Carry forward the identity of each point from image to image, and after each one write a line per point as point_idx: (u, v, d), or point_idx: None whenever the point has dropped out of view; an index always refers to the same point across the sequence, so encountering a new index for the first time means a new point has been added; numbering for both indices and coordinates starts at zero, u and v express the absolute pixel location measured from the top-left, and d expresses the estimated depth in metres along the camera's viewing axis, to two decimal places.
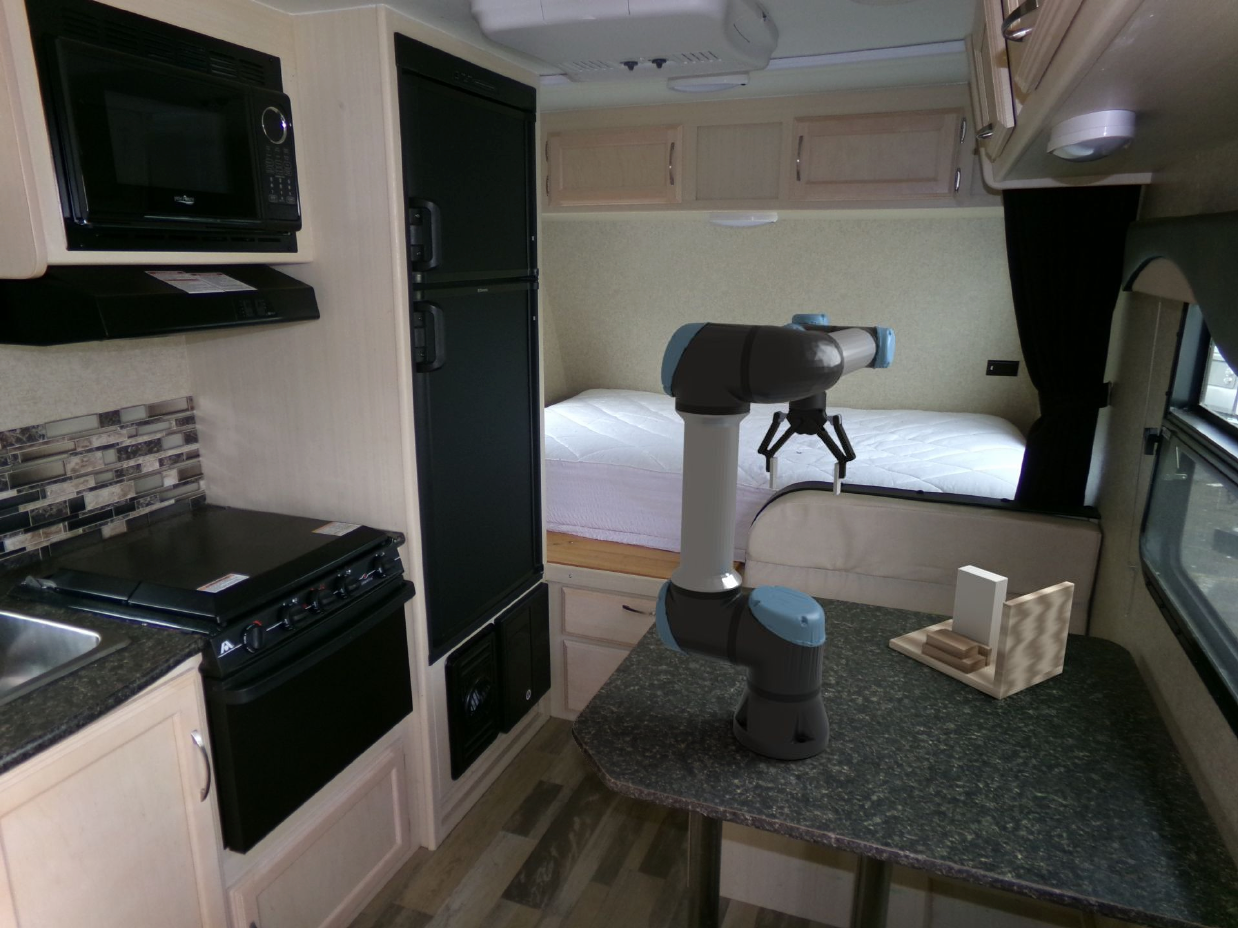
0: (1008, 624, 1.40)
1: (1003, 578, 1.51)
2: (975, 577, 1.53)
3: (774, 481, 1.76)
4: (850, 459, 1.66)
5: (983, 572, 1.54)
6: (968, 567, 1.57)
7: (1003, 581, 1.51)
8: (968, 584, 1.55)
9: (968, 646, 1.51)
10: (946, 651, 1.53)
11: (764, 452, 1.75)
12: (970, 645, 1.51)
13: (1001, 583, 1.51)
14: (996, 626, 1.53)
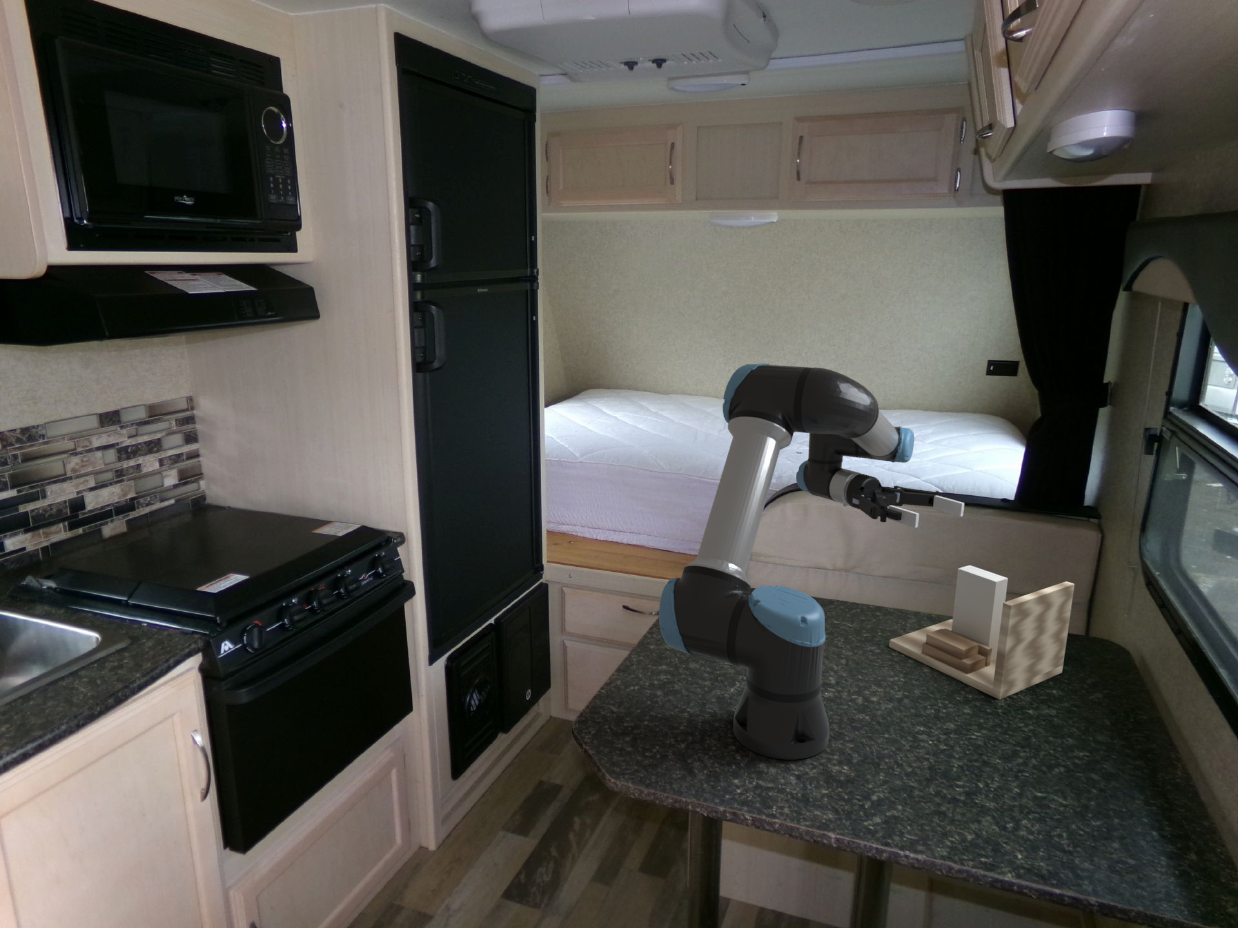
0: (1008, 624, 1.40)
1: (1003, 578, 1.51)
2: (975, 577, 1.53)
3: None
4: (939, 493, 1.71)
5: (983, 572, 1.54)
6: (968, 567, 1.57)
7: (1003, 581, 1.51)
8: (968, 584, 1.55)
9: (968, 646, 1.51)
10: (946, 651, 1.53)
11: (879, 508, 1.62)
12: (970, 645, 1.51)
13: (1001, 583, 1.51)
14: (996, 626, 1.53)
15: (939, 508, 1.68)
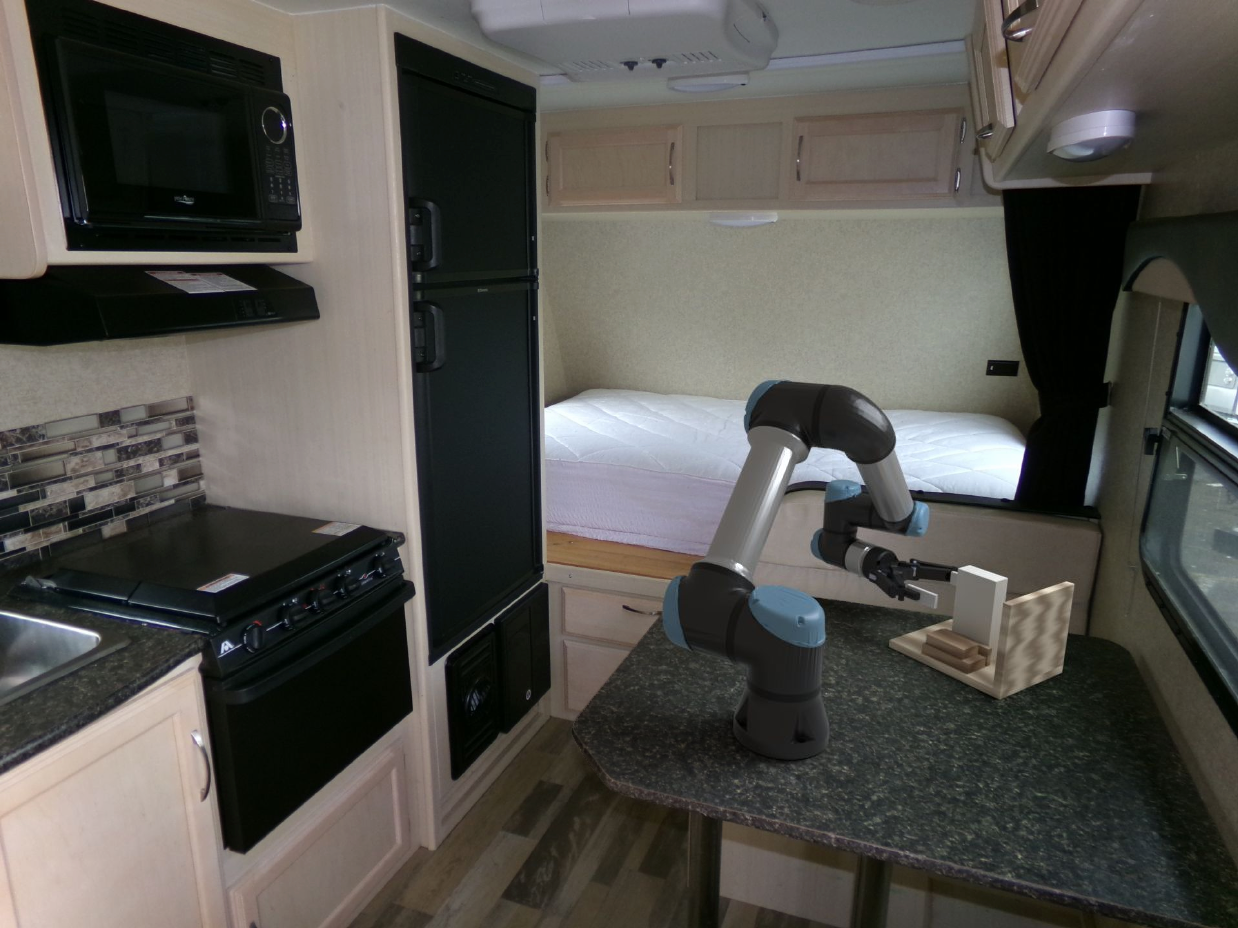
0: (1008, 624, 1.40)
1: (1003, 578, 1.51)
2: (975, 577, 1.53)
3: None
4: (956, 567, 1.71)
5: (983, 572, 1.54)
6: (968, 567, 1.57)
7: (1003, 581, 1.51)
8: (968, 584, 1.55)
9: (968, 646, 1.51)
10: (946, 651, 1.53)
11: (897, 587, 1.61)
12: (970, 645, 1.51)
13: (1001, 583, 1.51)
14: (996, 626, 1.53)
15: None
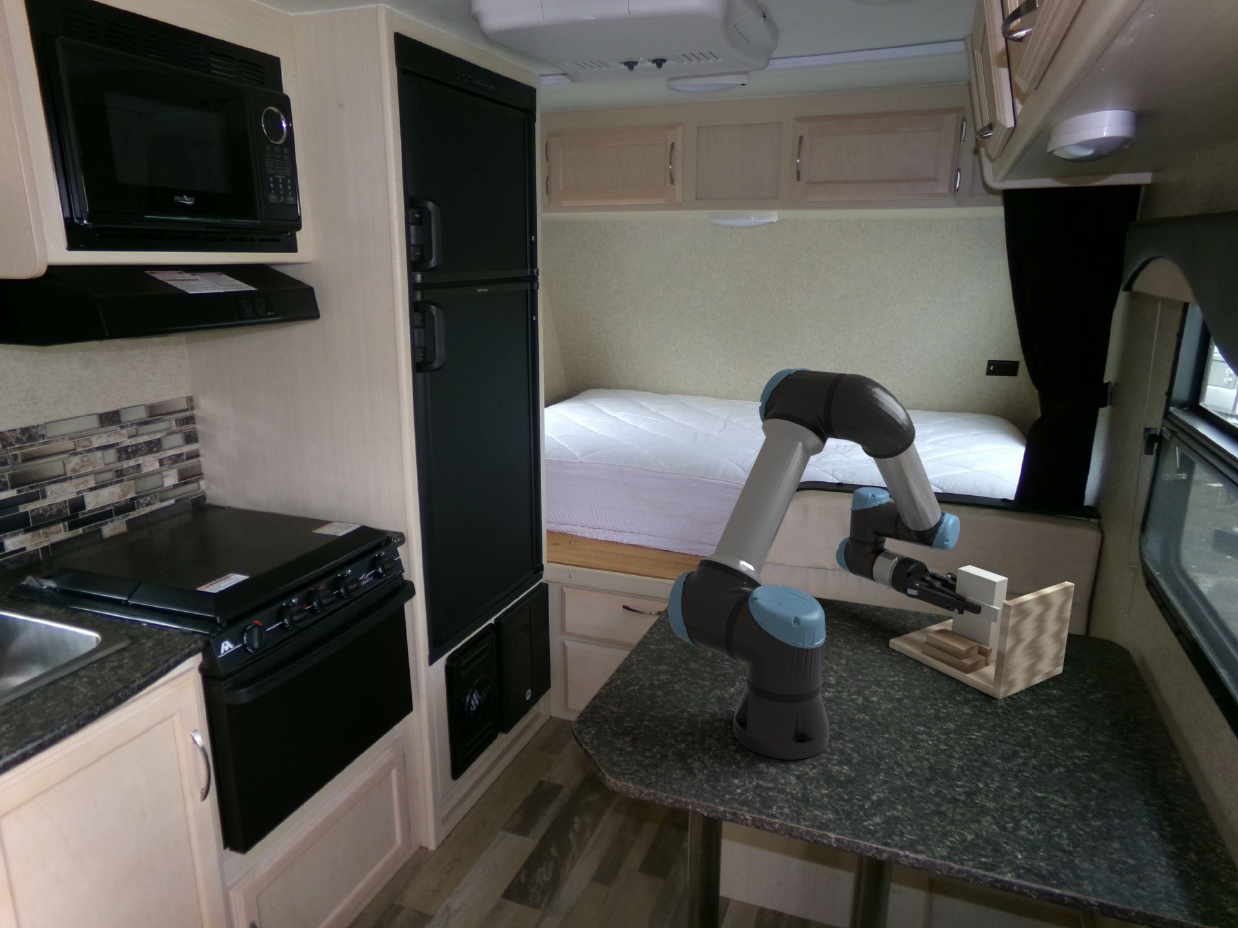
0: (1008, 624, 1.40)
1: (1003, 578, 1.51)
2: (975, 577, 1.53)
3: None
4: None
5: (983, 572, 1.54)
6: (968, 567, 1.57)
7: (1003, 581, 1.51)
8: (968, 584, 1.55)
9: (968, 646, 1.51)
10: (946, 651, 1.53)
11: (958, 601, 1.54)
12: (970, 645, 1.51)
13: (1001, 582, 1.51)
14: (996, 626, 1.53)
15: None
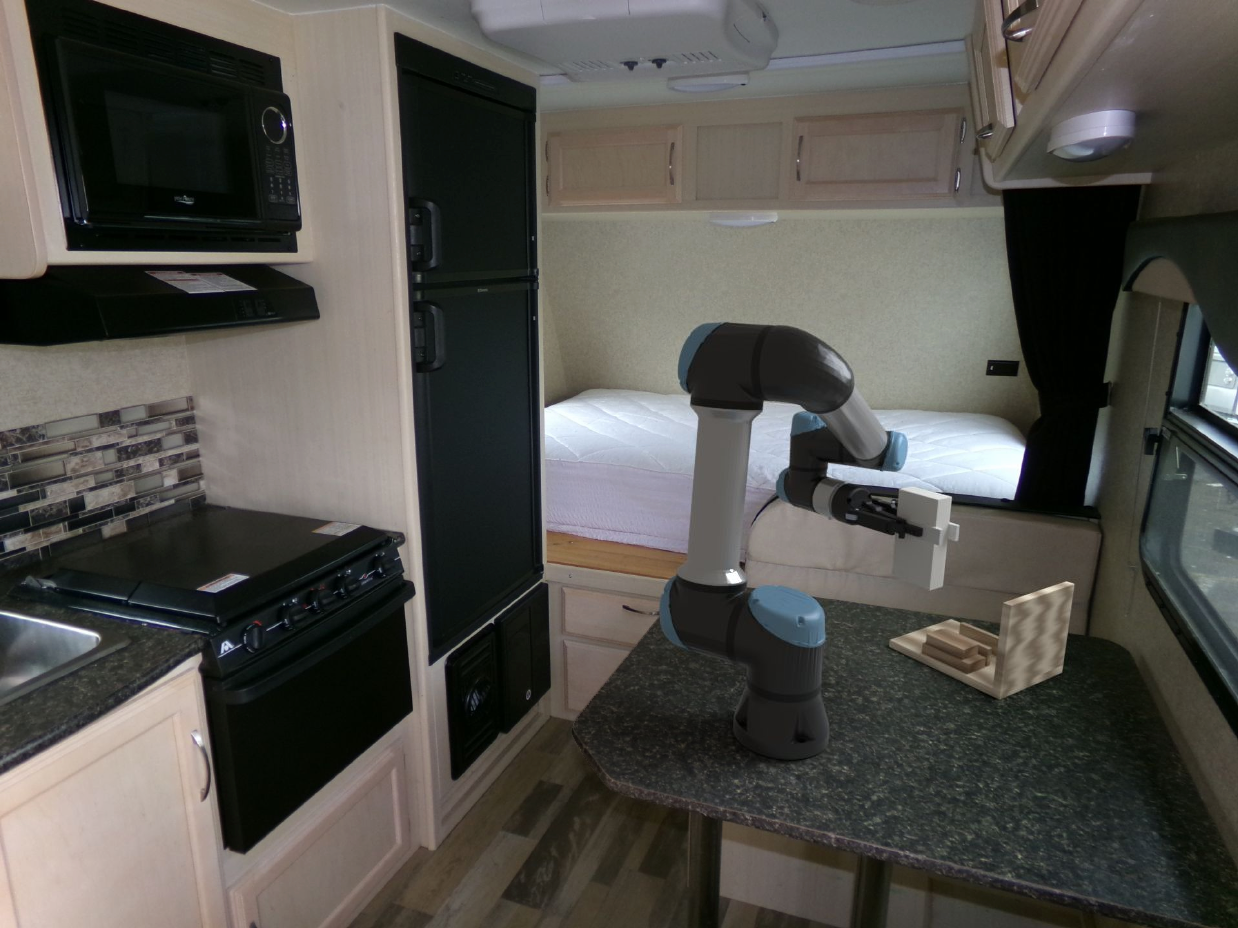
0: (1008, 624, 1.40)
1: (946, 497, 1.38)
2: (916, 497, 1.40)
3: None
4: None
5: (926, 492, 1.40)
6: (910, 488, 1.43)
7: (946, 500, 1.37)
8: (909, 505, 1.41)
9: (968, 646, 1.51)
10: (946, 651, 1.53)
11: (899, 523, 1.41)
12: (970, 645, 1.51)
13: (944, 501, 1.37)
14: (939, 550, 1.39)
15: None
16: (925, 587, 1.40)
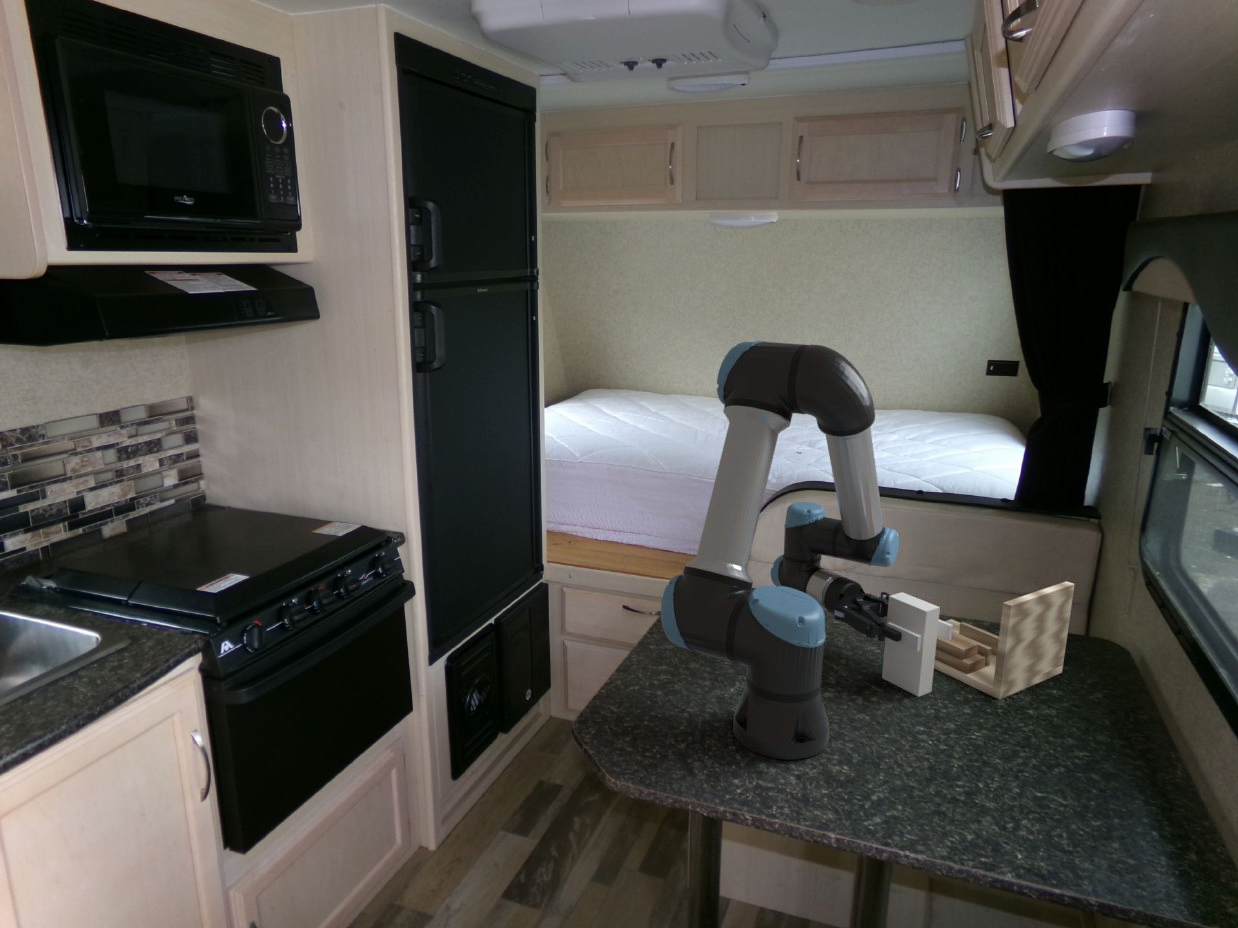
0: (1008, 624, 1.40)
1: (935, 607, 1.42)
2: (905, 606, 1.44)
3: None
4: None
5: (915, 600, 1.45)
6: (900, 594, 1.47)
7: (934, 610, 1.41)
8: (899, 613, 1.45)
9: (968, 646, 1.51)
10: (946, 651, 1.53)
11: (877, 626, 1.44)
12: (970, 645, 1.51)
13: (932, 612, 1.41)
14: (928, 658, 1.43)
15: None
16: (914, 693, 1.45)
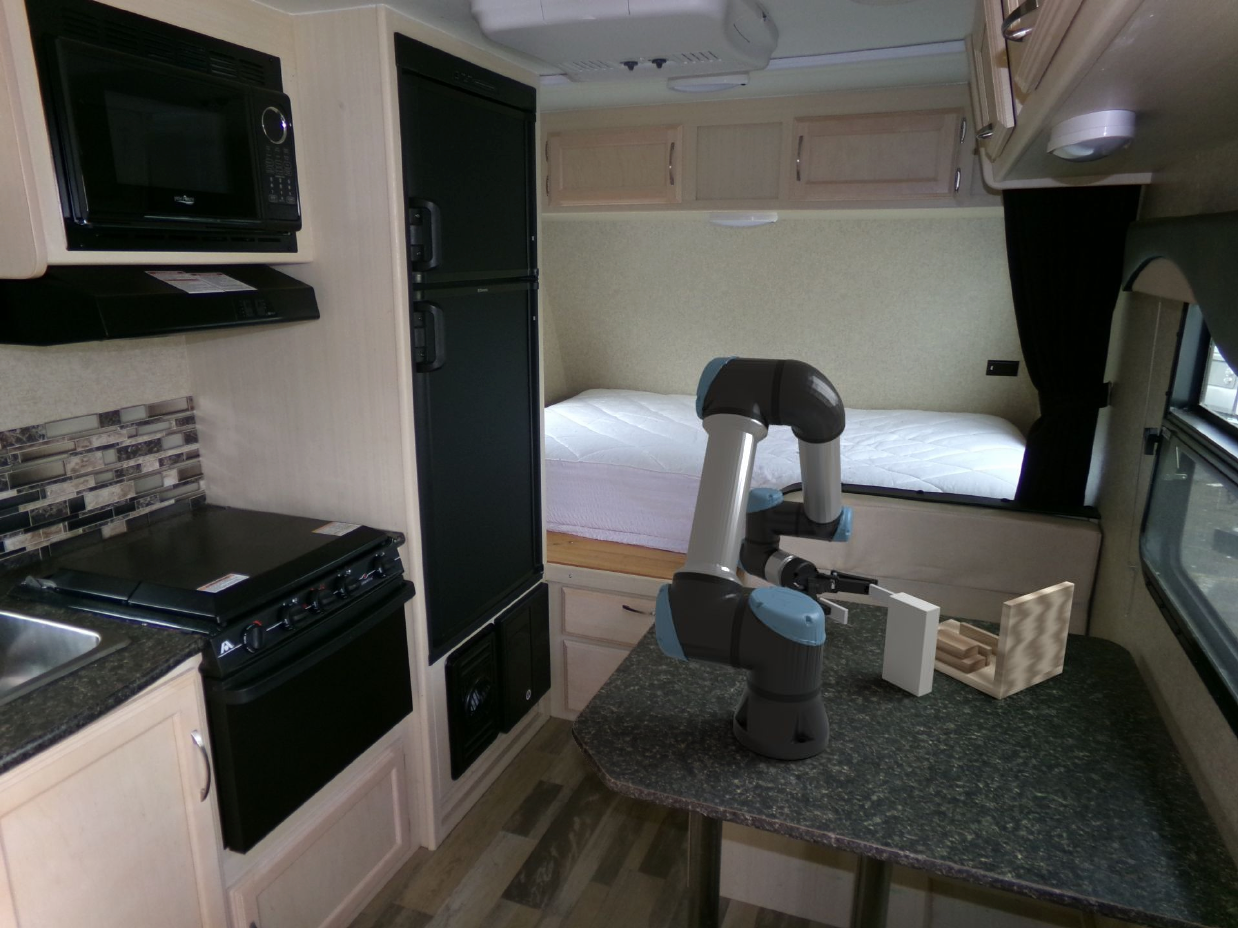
0: (1008, 624, 1.40)
1: (935, 607, 1.42)
2: (906, 606, 1.44)
3: None
4: (876, 580, 1.64)
5: (915, 600, 1.45)
6: (900, 594, 1.47)
7: (935, 610, 1.41)
8: (899, 613, 1.45)
9: (968, 646, 1.51)
10: (946, 651, 1.53)
11: None
12: (970, 645, 1.51)
13: (932, 612, 1.41)
14: (928, 658, 1.43)
15: (874, 598, 1.61)
16: (914, 693, 1.45)
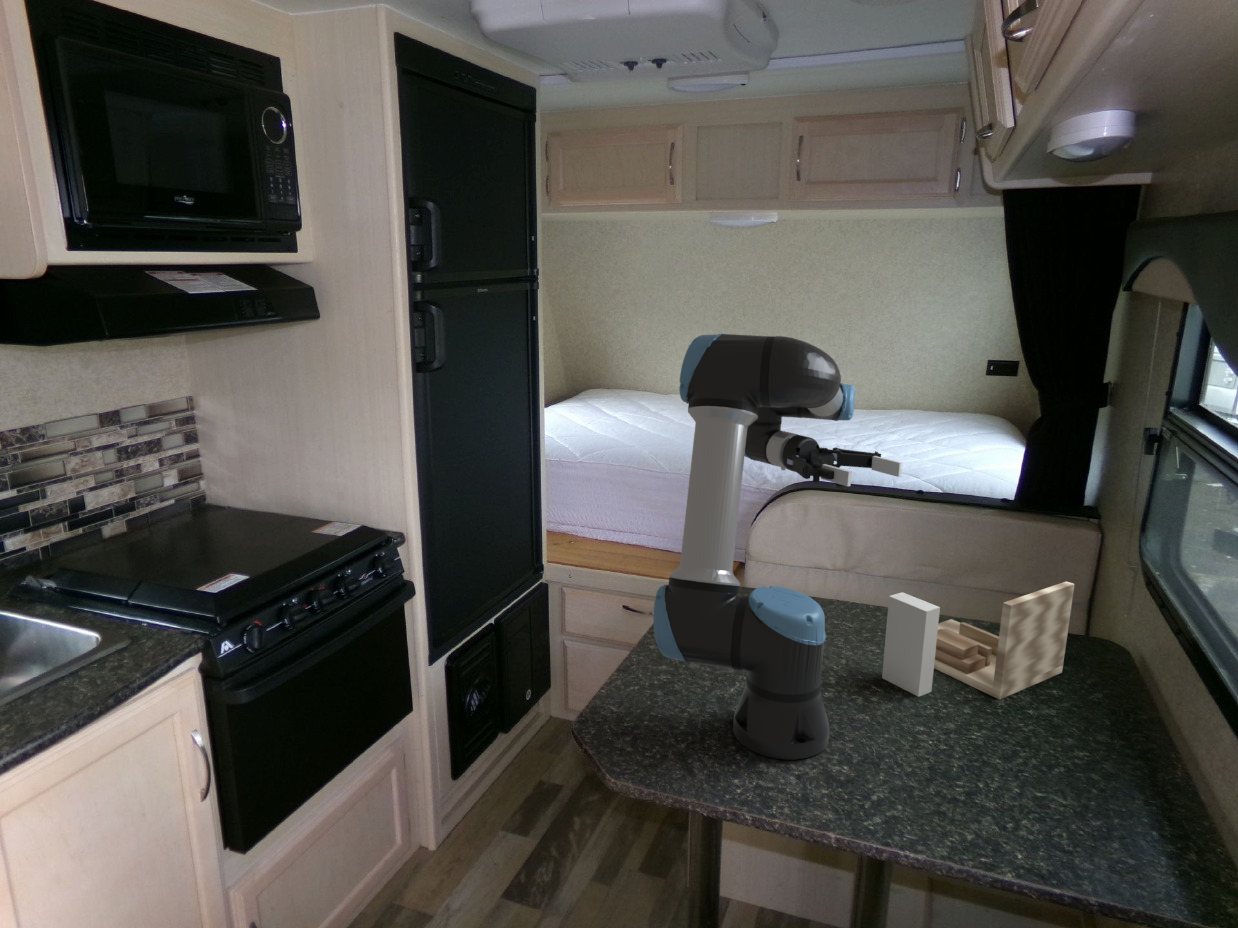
0: (1008, 624, 1.40)
1: (935, 607, 1.42)
2: (906, 606, 1.44)
3: None
4: (879, 454, 1.62)
5: (915, 600, 1.45)
6: (900, 594, 1.47)
7: (934, 610, 1.41)
8: (899, 613, 1.45)
9: (968, 646, 1.51)
10: (946, 651, 1.53)
11: (811, 467, 1.53)
12: (970, 645, 1.51)
13: (932, 612, 1.41)
14: (928, 658, 1.43)
15: (877, 469, 1.59)
16: (914, 693, 1.45)
